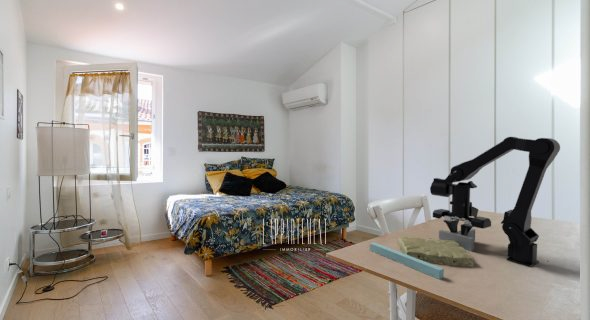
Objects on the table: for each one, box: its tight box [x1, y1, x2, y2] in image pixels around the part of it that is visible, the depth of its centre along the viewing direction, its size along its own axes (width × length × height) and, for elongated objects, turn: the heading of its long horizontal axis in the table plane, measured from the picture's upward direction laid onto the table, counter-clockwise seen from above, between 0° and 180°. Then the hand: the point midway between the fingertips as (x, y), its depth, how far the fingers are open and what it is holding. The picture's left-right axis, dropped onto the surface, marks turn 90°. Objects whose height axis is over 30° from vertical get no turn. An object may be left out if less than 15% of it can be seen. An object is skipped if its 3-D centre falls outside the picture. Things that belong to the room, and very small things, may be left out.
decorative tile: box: [397, 236, 474, 268], centre depth 100 cm, size 19×20×4 cm
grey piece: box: [438, 227, 476, 253], centre depth 110 cm, size 12×12×4 cm
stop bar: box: [369, 241, 445, 280], centre depth 93 cm, size 26×2×2 cm, turn 31°
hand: (459, 240), depth 109 cm, fingers closed on grey piece, 2 cm apart
